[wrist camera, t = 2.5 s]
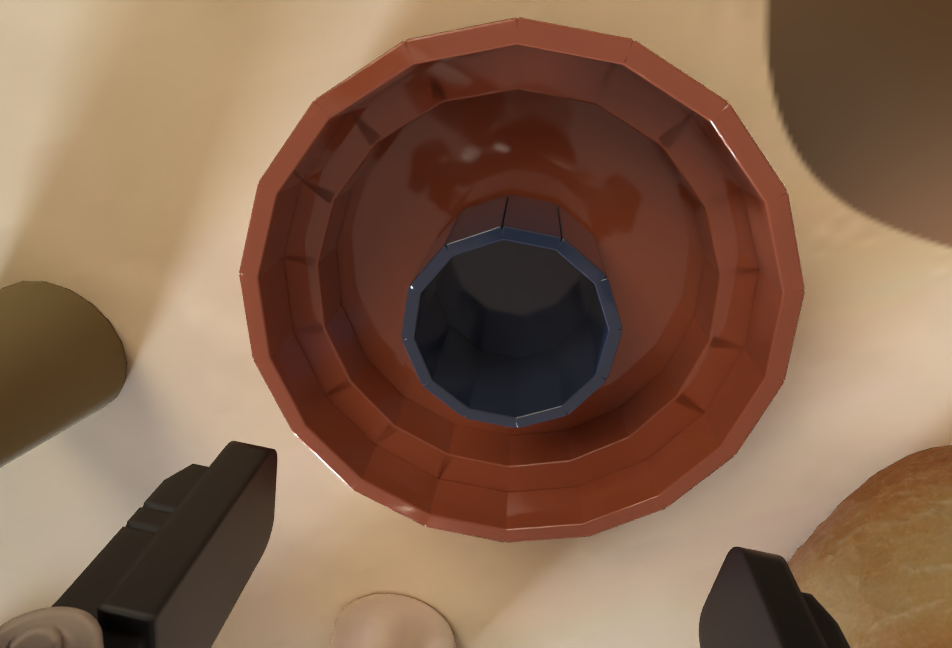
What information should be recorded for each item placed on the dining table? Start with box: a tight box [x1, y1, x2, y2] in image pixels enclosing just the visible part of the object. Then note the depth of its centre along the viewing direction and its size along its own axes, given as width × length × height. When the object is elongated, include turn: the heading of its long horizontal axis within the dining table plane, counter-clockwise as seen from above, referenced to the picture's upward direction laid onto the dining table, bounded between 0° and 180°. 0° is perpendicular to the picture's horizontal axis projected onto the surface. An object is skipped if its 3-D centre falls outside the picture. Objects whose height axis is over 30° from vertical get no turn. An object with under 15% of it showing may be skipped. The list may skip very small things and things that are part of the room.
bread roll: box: [787, 446, 952, 648], centre depth 23 cm, size 10×15×8 cm, turn 157°
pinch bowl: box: [401, 195, 622, 428], centre depth 20 cm, size 6×6×5 cm
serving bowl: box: [239, 18, 804, 543], centre depth 20 cm, size 16×16×5 cm
